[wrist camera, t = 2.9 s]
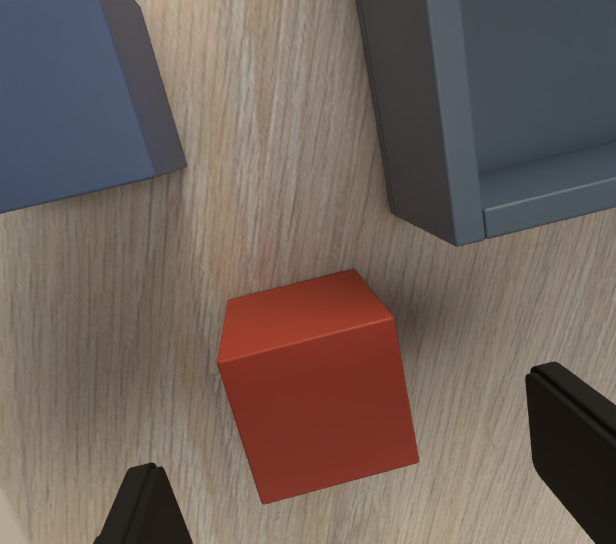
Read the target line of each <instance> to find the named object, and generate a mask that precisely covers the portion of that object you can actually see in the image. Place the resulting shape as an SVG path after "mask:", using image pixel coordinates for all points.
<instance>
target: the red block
mask: <svg viewBox="0 0 616 544" xmlns="http://www.w3.org/2000/svg"><path fill="white" fill-rule="evenodd" d="M217 365H218V368H219V371H220V375H221V378H222V381H223V384H224V387H225V390H226V393H227V397H228V400H229V403H230V406H231V409H232V412H233V415H234V418H235V422H236V425H237V428H238V431H239V434H240V437H241V440H242V444H243V447H244V450H245V453H246V456H247V459H248V462H249V466H250V469H251V472H252V475H253V478H254V481H255V484H256V488H257V491H258V494H259V497H260V500H261V503H262V504H268V503H272V502H275V501H279V500H283V499H286V498H290V497H294V496H298V495H301V494H305V493H309V492H312V491H316V490H320V489H323V488H327V487H331V486H334V485H338V484H342V483H346V482H349V481H353V480H357V479H360V478H364V477H368V476H371V475H375V474H379V473H382V472H386V471H390V470H394V469H397V468H401V467H405V466H408V465H412V464H416V463H418V462H419V455H418V450H417V444H416V438H415V433H414V427H413V421H412V416H411V410H410V404H409V399H408V393H407V387H406V382H405V376H404V370H403V365H402V359H401V353H400V348H399V342H398V336H397V331H396V325H395V319H394V317H393V316H392V315H391V313H390V312H389V311H388V310H387V308H386V307H385V306H384V305H383V303H382V302H381V301H380V300H379V298H378V297H377V296H376V295H375V293H374V292H373V291H372V290H371V288H370V287H369V286H368V285H367V283H366V282H365V281H364V280H363V278H362V277H361V276H360V275H359V273H358V272H357V271H356V269H352V270H348V271H344V272H340V273H336V274H332V275H328V276H324V277H320V278H316V279H312V280H308V281H304V282H300V283H296V284H292V285H288V286H284V287H280V288H276V289H272V290H268V291H263V292H259V293H255V294H251V295H247V296H243V297H239V298H235V299H231V300H229V301H228V304H227V309H226V315H225V321H224V326H223V332H222V338H221V343H220V349H219V355H218V360H217Z"/></svg>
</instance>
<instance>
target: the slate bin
mask: <svg viewBox="0 0 616 544" xmlns="http://www.w3.org/2000/svg"><path fill="white" fill-rule="evenodd" d="M356 2H357V8H358V15H359V21H360V27H361V33H362V39H363V45H364V51H365V57H366V63H367V69H368V75H369V81H370V87H371V93H372V99H373V105H374V111H375V117H376V123H377V129H378V135H379V141H380V147H381V153H382V159H383V165H384V171H385V177H386V183H387V189H388V195H389V201H390V207H391V213H392V214H393V215H395V216H397V217H399V218H401V219H403V220H405V221H407V222H409V223H411V224H413V225H415V226H417V227H419V228H421V229H423V230H425V231H427V232H429V233H431V234H433V235H434V236H436V237H438V238H440V239H442V240H444V241H446V242H448V243H450V244H452V245H454V246H457V247H459V246H463V245H467V244H471V243H475V242H479V241H483V240H484V239H485V238H486V239H490V238H494V237H498V236H502V235H506V234H510V233H514V232H518V231H522V230H526V229H530V228H534V227H538V226H542V225H546V224H550V223H554V222H558V221H562V220H566V219H570V218H574V217H578V216H582V215H586V214H590V213H594V212H598V211H602V210H607V209H611V208H615V207H616V0H356Z"/></svg>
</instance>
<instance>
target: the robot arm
mask: <svg viewBox="0 0 616 544" xmlns="http://www.w3.org/2000/svg"><path fill="white" fill-rule="evenodd" d="M525 382H526V393H527V405H528V416H529V427H530V439H531V450H532V460H533V464H534V467H535V470H536V471H537V473H538V475H539V476H540V477H541V479H542V480H543V481H544V482H545V483H546V485H547V486H548V487H549V488H550V490H551V491H552V492H553V493H554V494H555V496H556V497H557V498H558V499H559V500H560V502H561V503H562V504H563V505H564V506H565V508H566V509H567V510H568V511H569V512H570V514H571V515H572V516H573V517H574V518H575V520H576V521H577V522H578V523H579V524H580V526H581V527H582V528H583V529H584V530H585V532H586V533H587V534H588V535H589V536H590V538H591V539H592V540H593V541H594V543H595V544H616V405H615V404H613V403H612V402H611V401H609V400H608V399H607V398H605V397H604V396H603V395H601V394H600V393H598V392H597V391H596V390H594V389H593V388H592V387H590V386H589V385H588V384H586V383H585V382H584V381H582V380H581V379H580V378H578V377H577V376H576V375H574V374H573V373H571V372H570V371H569V370H567V369H566V368H565V367H563V366H562V365H561V364H559V363H557V362H550V363H546V364H542V365H538V366H534V367H532V368H531V370H530V374H527V375H526V377H525ZM93 544H193V542H192V539H191V537H190V534H189V532H188V529H187V527H186V524H185V521H184V519H183V516H182V514H181V511H180V508H179V506H178V503H177V501H176V498H175V495H174V493H173V490H172V488H171V485H170V482H169V480H168V477H167V475H166V472H165V470H164V468H163V467H157V466H156V465H155V464H154V463H152V462H151V463H147V464H143V465H139V466H135V467H131V468H129V469H128V471H127V472H126V475H125V477H124V479H123V482H122V484H121V486H120V489H119V491H118V493H117V496H116V498H115V501H114V503H113V505H112V508H111V510H110V512H109V515H108V517H107V519H106V522H105V524H104V526H103V529H102V531H101V533H100V535H99V536H98V537H97V538H96V539H95V541H94V542H93Z"/></svg>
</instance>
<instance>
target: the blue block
mask: <svg viewBox="0 0 616 544" xmlns="http://www.w3.org/2000/svg"><path fill="white" fill-rule="evenodd" d="M185 167H187V163H186V160H185V156H184V153H183V150H182V146H181V143H180V140H179V136H178V133H177V130H176V126H175V123H174V119H173V116H172V113H171V109H170V106H169V103H168V99H167V96H166V92H165V89H164V86H163V82H162V79H161V76H160V72H159V69H158V65H157V62H156V59H155V55H154V52H153V49H152V45H151V42H150V38H149V35H148V32H147V28H146V25H145V22H144V18H143V15H142V11H141V8H140V6H139V5H138V3H137V2H136V1H135V0H0V214H1V213H5V212H10V211H14V210H18V209H23V208H27V207H31V206H35V205H40V204H44V203H48V202H53V201H57V200H61V199H65V198H70V197H74V196H78V195H82V194H87V193H91V192H95V191H100V190H104V189H108V188H112V187H117V186H121V185H125V184H130V183H134V182H138V181H142V180H147V179H151V178H155V177H158V176H161V175H164V174H167V173H170V172H173V171H176V170H179V169H182V168H185Z"/></svg>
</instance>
